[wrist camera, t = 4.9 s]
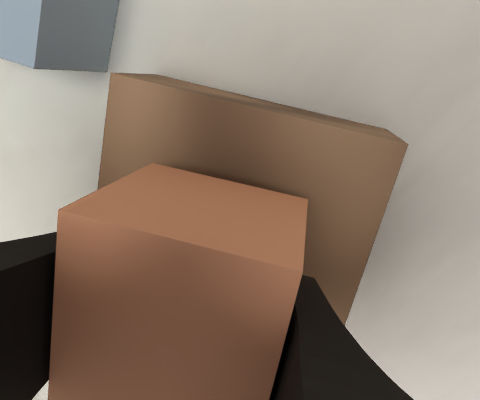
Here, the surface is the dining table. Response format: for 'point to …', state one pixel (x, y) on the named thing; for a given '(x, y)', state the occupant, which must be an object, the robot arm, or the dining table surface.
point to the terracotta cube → (174, 288)
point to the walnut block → (263, 162)
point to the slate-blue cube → (58, 33)
